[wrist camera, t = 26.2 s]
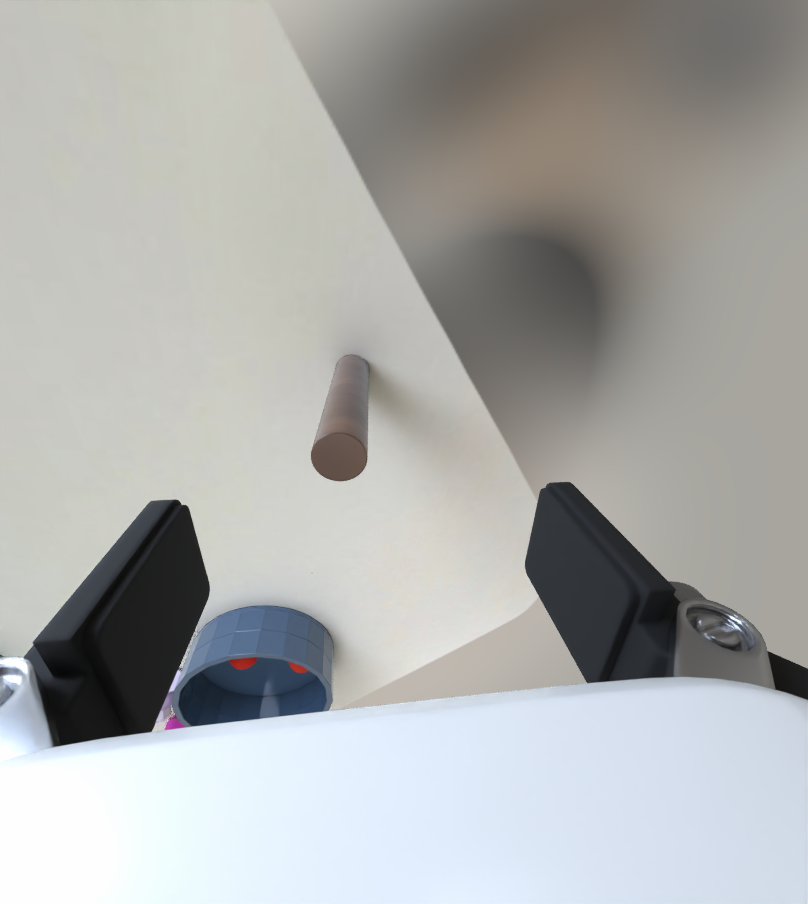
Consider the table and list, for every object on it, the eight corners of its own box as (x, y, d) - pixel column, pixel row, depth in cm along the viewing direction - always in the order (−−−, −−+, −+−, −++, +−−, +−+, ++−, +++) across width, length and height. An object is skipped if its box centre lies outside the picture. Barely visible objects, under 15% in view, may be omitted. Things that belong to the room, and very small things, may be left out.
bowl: (329, 599, 41) (327, 645, 36) (337, 686, 48) (336, 735, 43) (177, 612, 39) (153, 663, 34) (208, 701, 46) (191, 754, 41)
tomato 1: (231, 673, 40) (241, 678, 38) (219, 647, 40) (229, 651, 38) (257, 654, 43) (268, 658, 40) (246, 629, 42) (257, 632, 40)
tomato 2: (283, 643, 41) (302, 654, 40) (305, 633, 44) (323, 643, 42) (281, 671, 41) (300, 683, 40) (303, 659, 44) (321, 670, 42)
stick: (371, 357, 30) (371, 437, 18) (365, 389, 31) (362, 485, 19) (338, 351, 29) (314, 428, 17) (333, 383, 31) (307, 477, 18)
